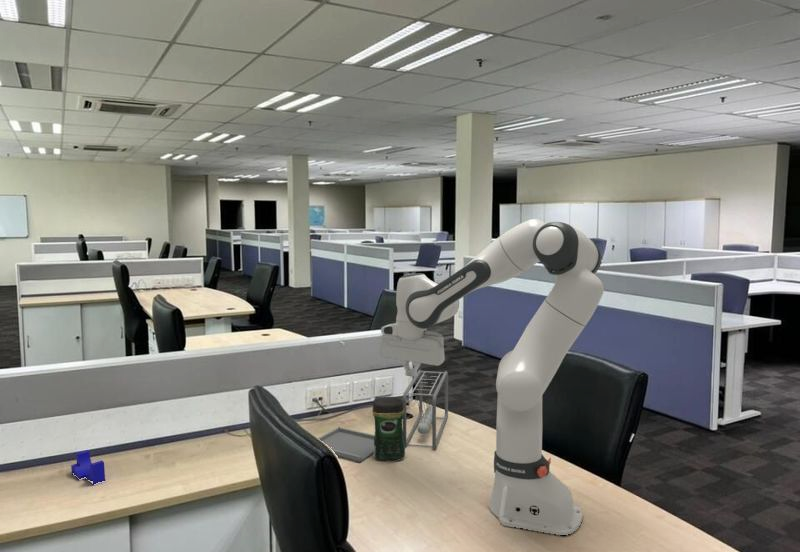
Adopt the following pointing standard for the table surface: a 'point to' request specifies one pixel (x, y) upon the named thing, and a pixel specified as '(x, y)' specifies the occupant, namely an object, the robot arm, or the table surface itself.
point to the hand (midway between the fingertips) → (411, 375)
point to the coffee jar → (388, 428)
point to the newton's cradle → (430, 412)
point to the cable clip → (88, 468)
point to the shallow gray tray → (350, 444)
